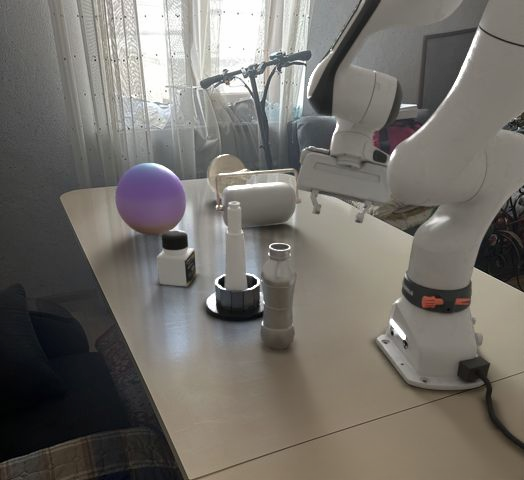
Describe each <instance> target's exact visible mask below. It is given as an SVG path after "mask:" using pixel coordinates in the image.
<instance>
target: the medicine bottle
mask: <svg viewBox="0 0 524 480" xmlns="http://www.w3.org/2000/svg"><path fill="white" fill-rule="evenodd" d="M160 238H161V239H160V240H161V248H162V251H161V252H160V253H159V254H158V255H157V256H156V267H157V275H158V283H159V285H164V286H165V285H166V286H175V287H186V288H187V287H188V286H189V285H190V284H191V282H192V281H193V280H194V278H195V277H196V276H197V267H196V252H195V248H193V247H192V248H191V247H189V237H188V233H187V232H186V231H184V230H181V229H172V230H169V231H166V232H164V233H163V234H161V235H160Z"/></svg>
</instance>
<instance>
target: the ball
mask: <svg viewBox="0 0 524 480" xmlns="http://www.w3.org/2000/svg"><path fill="white" fill-rule="evenodd" d="M114 199H115V206H116V210H117V212H118V214H119V216H120V218H121V220H123V222H124V223H125V224H126V225H127V226H128V227H129V228H130V229H132V230H133V231H135V232H136V233H139V234H141V235H145V236H153V237H154V236H161V235H162V234H163V233H164V232H166V231H169V230H174V229H175V228H176V227H177V226H178V225H179V223H180V222H181V221H182V220H183V217H184V215H185V213H186V208H187V197H186V192H185V188H184V185H183V184H182V181H181V180H180V178H179V177H178V176H177V174H175V173H174V172H173V171H172V170H170V169H169V168H167V167H165V166H164V165H162V164H159V163H154V162H153V163H152V162H144V163H139V164H137V165H134V166H132V167H130V168H129V169H128V170H126V171H125V172H124V173H123V174H122V176H121V177H120V178H119V180H118V183H117V186H116V190H115V197H114Z"/></svg>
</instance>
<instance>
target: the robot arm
mask: <svg viewBox="0 0 524 480" xmlns="http://www.w3.org/2000/svg"><path fill="white" fill-rule="evenodd" d="M463 1H464V0H359V1H358V2H357V4H356V5H355V7H354V9H353V10H352V11H351V13H350V15H349V17H348V18H347V20H346V22H345V23H344V24H343V26H342V28H341V29H340V32H339V33H338V35H337V36H336V37H335V40H334V41H333V43H332V44H331V46H330V47H329V49H328V50H327V52H326V53H325V54H324V56H323V57H322V59H321V60H320V61H319V62H318V64H317V66H316V67H315V69H314V70H313V72H312V74H311V76H310V78H309V82H308V86H307V93H306V98H307V100H308V103H309V105H310V106H311V108H312V110H313V111H314V113H315V114H316V115H320V116H323V117H324V116H326V117H331V118H332V117H334V118H335V124H336V125H335V129H334V132H333V133H332V136H331V141H330V146H329V149H328V148H320V147H319V148H318V147H316V146H311V145H310V146H308V147H305V148H303V149H302V150H301V152H300V155H299V164H300V168H299V172H298V179H297V183H296V185H297V187H298V191H303V192H307V193H310V196H309V197H310V200H311V203H312V206H313V208H312V214H313V215H314V214H315V215H320V214H321V209H322V204H319V203H318V199H317V198H318V196H319V195H322V196H327V197H333V198H337V199H341V200H347V201H349V202H350V201H351V202H355V203H359V204H360V203H361V204H363V205H362V209H364V210H363V211H362V212H357V213H356V214H355V219H354V223H357V224H363V222H364V220H365V219H364V218H365V215H366V214H367V212H368V211H369V210H370V209H371V208H372V206H374V207H379V208H382V207H384V206H386V205H387V204H388V203H389V202H390V200H391V196H393V197H394V198H395V199H396V201H398V202H399V203H401V204H405V205H411V206H419V207H437V206H438V207H437V209H436V210H435V212H434V213H433V214H432V215H431V216H430V217H429V218H428V219H427V220H426V221H424V222H423V223H422V224H421V225H420V226H419V227H418V228H417V230H416V231H415V233H414V235H413V237H412V244H411V248H410V254H409V261H408V265H407V270H405V273H404V276H403V279H402V282H401V295H400V296H399V297H398V298H397V299H396V300H395V301H394V302H393V303H392V304H391V306H390V311H389V315H388V319H387V324H386V328H385V332H384V333H383V334H381V335H379V336H378V337H377V338H376V341H375V342H376V345H377V346H378V348H379V349H380V350H381V351H382V353H383V354H384V355H385V357H386V358H387V359H388V360H389V362H390V363H391V365H392V366H393V368H394V369H395V370H396V371H397V373H398V374H399V375H400V376H401V378H402V379H403V380H404V381H405V382H406V383H407V384H408V385H410V386H413V387H417V388H421V389H427V390H437V391H462V390H471V389H476V388H479V387H481V386H483V385H484V386H485V396H484V397H485V404H486V408H487V412H488V416H489V418H490V420H491V422H492V423H493V424H494V426H495V427H496V428H497V429H498V430H499V431H500V432H501V433H502V434H503V436H504V437H505V438H506V439H507V440H509V441H510V442H511V443H512V444H514V445H515V446H516V447H518V448H519V449H521V450H523V451H524V442H523V441H521V440H520V439H519V438H518V437H516V436H515V435H514V434H513V433H512V432H510V430H508V428H507V427H506V426H505V424H503V423H502V422H501V421H500V420H499V418H498V416H497V415H496V412H495V410H494V406H493V405H494V404H493V399H492V395H493V385H492V383H491V381H490V379H489V378H488V377H487V376H488V373H489V370H490V367H491V362H490V361H488V360H487V359H486V358H484V357H482V356H481V355H479V354H478V347H480V346H482V344H483V341H484V340H483V339H484V335H483V333H481V332H475V327H474V326H476V322H477V321H476V320H477V319H476V317H473V316H472V313H471V303H472V302H471V301H472V295H473V288H472V286H473V281H472V275H473V272H474V268H475V265H476V261H477V257H478V254H479V250H480V247H481V245H482V242H483V239H484V237H485V235H486V234H487V232H488V230H489V228H490V226H491V225H492V222H493V221H494V219H495V218H496V216H497V215H498V213H499V212H500V211H501V209H502V207H503V206H504V205H505V204H506V203H507V201H508V200H509V199H510V198H511V197H512V196H513V195H514V194H515V193H516V192H517V191H519V190H520V189H521V188H522V187H523V186H524V134H523V133H521V132H517V131H513V130H508V129H504V128H505V127H506V126H507V125H508V124H509V123H510V122H511V121H513V120H514V119H516V118H518V117H519V116H520V115H522V114H523V113H524V0H488V1H487V4H486V5H485V9H484V10H483V13H482V15H481V18H480V20H479V24H478V26H477V28H476V31H475V34H474V36H473V39H472V41H471V44H470V46H469V48H468V51H467V54H466V56H465V57H464V58H465V59H464V61H463V63H462V65H461V68H460V71H459V73H458V75H457V77H456V79H455V81H454V83H453V85H452V86H451V88H450V90H449V91H448V93H447V95H446V96H445V98H444V99H443V100H442V101H441V103H440V104H439V106H438V107H437V108H436V110H435V111H434V112H433V113H432V114H431V116H430V117H429V118H428V119H427V120H426V121H425V122H424V123H423V125H421V127H419V129H417V130H416V131H415V132H414V133H413V134H411V135H410V136H409V137H407V138H405V139H404V140H402V141H401V142H400V143H399V144H397V145H396V146H395V148H394V149H393V151H392V153H391V154H388V153H386V152H385V151H383V150H381V149H380V148H378V147H377V146H375V145H374V133H375V132H376V131H378V132H380V131H382V130H383V129H385V128H387V127H388V126H390V125H391V124H393V123H394V122H395V121H396V120H397V119H398V116H399V114H400V111H401V107H402V102H403V96H404V93H403V92H404V91H403V88H402V85H401V83H400V81H399V79H398V78H397V77H394V76H392V75H391V74H387V73H384V72H380V71H378V70H373V69H368V68H366V67H362V66H359V65H356V64H353V61H354V60H355V58H356V57H357V55H358V54H359V52H361V49H362V48H363V46H364V45H365V43H366V42H367V40H368V39H369V38H370V37H371V36H373V35H374V34H376V33H379V32H381V31H384V30H385V31H386V30H389V29H396V28H405V27H406V28H408V27H409V28H410V27H415V28H416V27H417V28H418V27H426V26H430V25H434V24H436V23H439V22H441V21H443V20H445V19H447V18H449V17H450V16H451V15H452V14H453V13H454V12H455V11H456V10H457V9H458V8H459V6H460V5H461V4H462V3H463ZM391 194H392V195H391Z"/></svg>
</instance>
